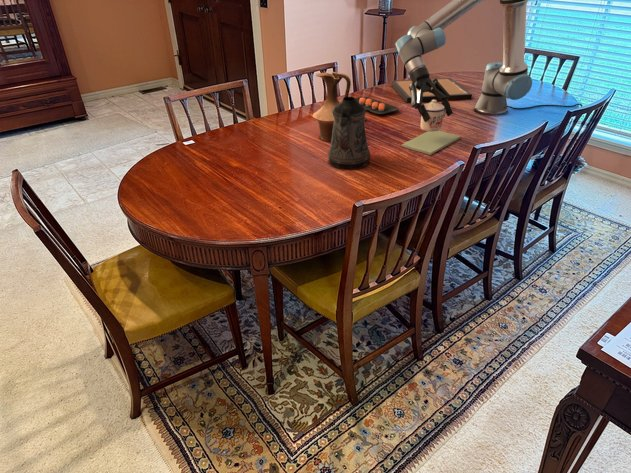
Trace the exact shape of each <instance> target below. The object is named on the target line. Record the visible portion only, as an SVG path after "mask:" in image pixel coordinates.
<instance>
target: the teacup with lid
mask: <svg viewBox="0 0 631 473" xmlns="http://www.w3.org/2000/svg"><path fill="white" fill-rule="evenodd" d="M423 104H424V106H425V109H426V111H427V113H428V115H429V117H430V119H429V120H428V121H427V122H425V121H424V119H423V117H422V115H420V116H421V117H420V129H421V130H422V131H426V132H427V131H441V129H442V127H443V120H444V118H445V117H446V115H447V114H446V110H445V107H444V106H443V105H442V103H439V102H438V101H436V100H432V102H426V103H423Z"/></svg>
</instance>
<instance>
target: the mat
mask: <svg viewBox="0 0 631 473" xmlns="http://www.w3.org/2000/svg"><path fill="white" fill-rule="evenodd" d="M460 139H461V135H458V134H454V133H450V132H446V131H443V130H439V131H426V132H423V133H421V134H420V135H419V134H418V135H417V136H416V137H413V138H411V139H409V140H407V141H405V142H404V143H402V144H401V147H402V148H405V149H409V150H412V151H414V152H418V153H422V154H425V155H429V156H431V155H434V154H435V153H436V152H439V151H440V150H442V149H444V148H446V147H447V146H450V145H451V144H453V143H455V142H456V141H458V140H460Z"/></svg>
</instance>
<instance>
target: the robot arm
mask: <svg viewBox="0 0 631 473" xmlns="http://www.w3.org/2000/svg"><path fill="white" fill-rule="evenodd" d="M483 1H484V0H451V1H450V2H449V3H447V4H446V5H445V6H443V7H441V8H440V9H439V10H438V11H437V12H435V13H434V14H432V15H431V16H430V17H429V18H427V19H425V20H424V21H423V22H422V23H420V24H419V25H413V26H411V27H410V28H409V29H408V32H407V34H405V35H403V36H401V37H400V38H398V39H397V41H396V42H395V47H396V50H397V53H398V56H399V57H400V59H401V61H402V63H403V65H404V68H405V70H406V72H407V74H408V76H409V80H411V81H412V84H411V85H410V86H409V89H410V93H411V103H410V106H411V108H414V109H415V110H417V111H418V113H419V115H420V116H422V117H423V119H424V121H425V122H427V121H428V120H429V119H430V117H429V115H428V113H427V111H426V109H425V106H424V104H425V103H423V102H422V98H423V93H424V92H429V93H432V94H434V95H435V96H436V97H437V98H439V99H440V100H441V101H440V102H441V103H440V104H441V105H443V106H444V107H445V110H446V115H447V117H450V116H452V114H453V113H454V111H453V109H452V107H451V103H450V101H448V98H449V97H450V94H449V93H448V92H447V91H446V90H445V89H444V88H443V87H442V85H441V84H440V83H439V82H438V80H437V79H438V78H437V77H434V78H433V79H434V80H431V79H432V78H430V72H429V70H428V68H427V67H426V66H427V65H426V64H425V61H424V59H423V57H422V56H424V55H426V54H429V53H430V52H433V51H435V50H439V49H440V48H442V47H443V46H445V45H446V43H447V42H446V41H447V39H446V38H447V37H446V33H445V31H444V30H445V29H446V28H447V27H448V26H450V25H452V23H454V22H455V21H457V20H458V19H459V18H462V16H464V15H465V14H466V13H468V12H469V11H471V10H472V9H473V8H475V7H476V6H478V5H479V4H480V3H481V2H483ZM529 1H530V0H499V4H500V5H501V6H502V7H503V27H502V28H503V31H502V32H503V34H502V35H503V36H502V37H503V39H502V42H503V43H502V47H503V48H502V49H503V50H502V61H496V62H489V63H487V65H486V66H485V70H484V74H483V75H484V76H483V82H482V87H481V93H480V96H479V97H478V100H477V102H476V103H475V105H474V111H475V113H478V114H481V115H484V116H493V117H494V116H495V117H496V116H503V115H506V114H507V112H508V108H509V109H512V110H530V109H534V108H539V107H540V108H541V107H558V108H574V107H577V106H580V107H584V105H583V104H582V103H576V104H573V105H564V104H537V105H533V106H526V107H513V106H511V105H508V100H507V99H510V100H512V101H517V100H520V99H522V98H525V96H526V95H527V94H528V93H529V92H530V90H532V86H533V79H532V76H530V74H528V72H529V70H528V68H529V65H528V64H527V63H526V62H525V52H526V51H525V50H526V28H527V27H526V26H527V25H526V24H527V4H528V2H529ZM416 88H417V89H418V91H417V92H416ZM431 88H432V89H431ZM417 94H418V95H417ZM446 95H447V96H446ZM422 103H423V104H422Z"/></svg>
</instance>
